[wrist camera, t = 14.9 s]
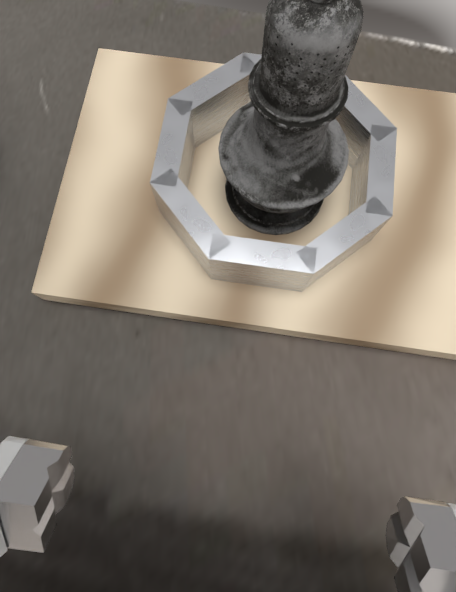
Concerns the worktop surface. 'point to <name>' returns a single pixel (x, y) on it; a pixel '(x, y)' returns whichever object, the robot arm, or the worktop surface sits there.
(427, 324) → the carrier plate
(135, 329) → the worktop surface
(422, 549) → the robot arm
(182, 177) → the metal collar
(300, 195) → the dark grey turned piece
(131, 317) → the worktop surface
